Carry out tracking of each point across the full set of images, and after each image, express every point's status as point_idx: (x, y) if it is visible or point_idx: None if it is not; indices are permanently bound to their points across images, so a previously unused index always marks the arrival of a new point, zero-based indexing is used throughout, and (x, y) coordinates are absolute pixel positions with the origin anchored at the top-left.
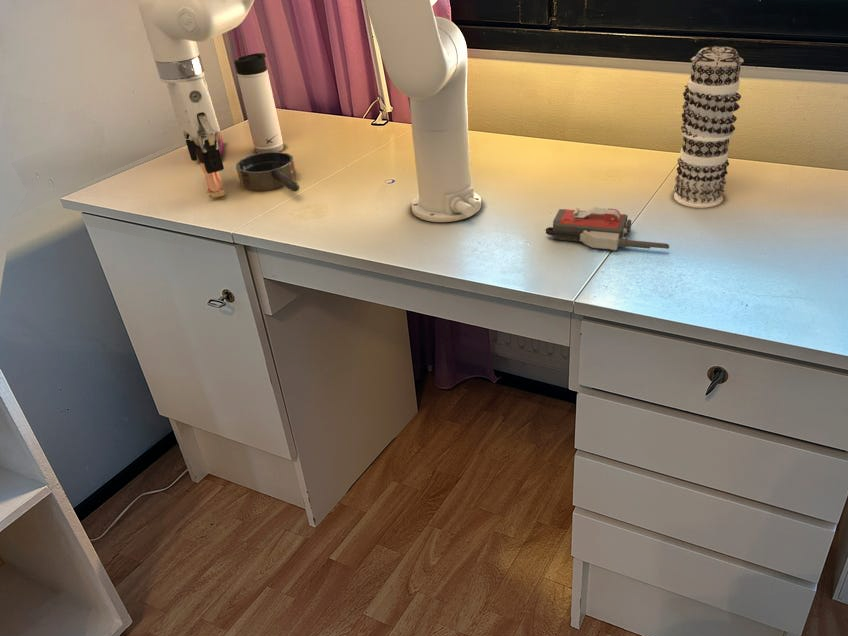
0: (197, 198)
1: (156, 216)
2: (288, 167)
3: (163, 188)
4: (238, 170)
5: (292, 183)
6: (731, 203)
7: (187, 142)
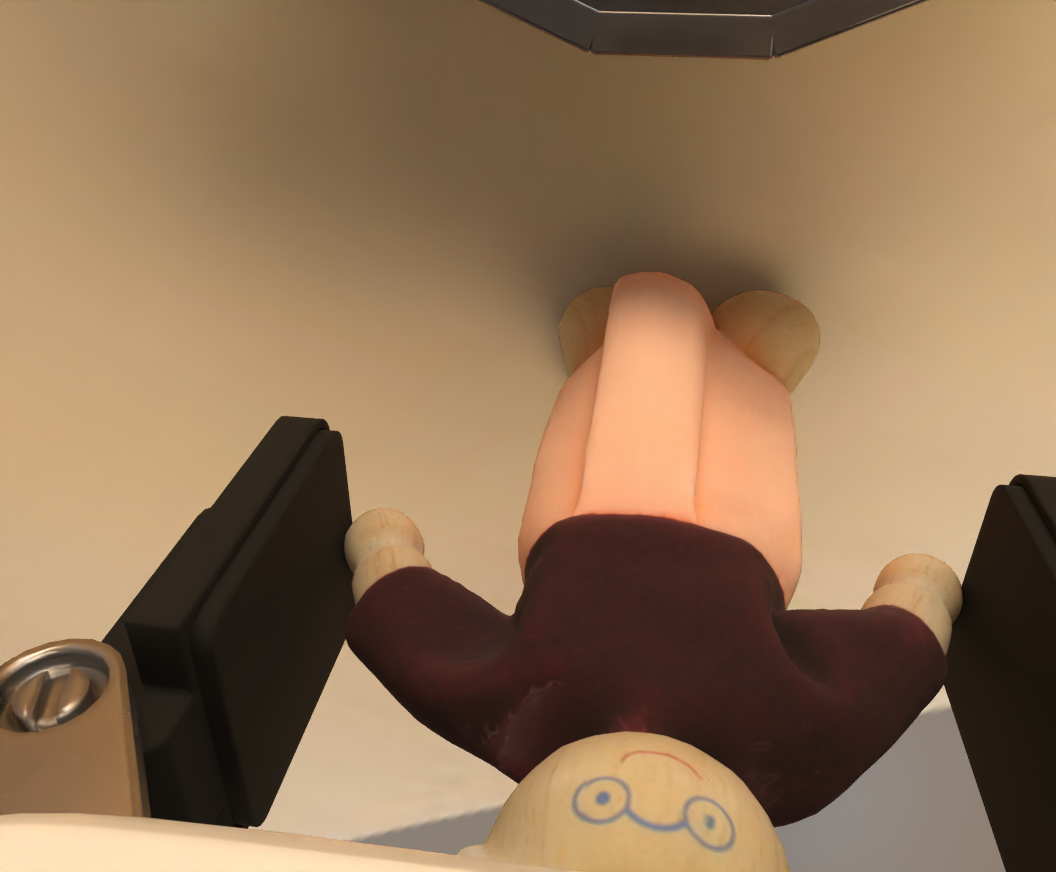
0: None
1: None
2: None
3: (148, 560)
4: (684, 55)
5: None
6: None
7: (248, 819)
